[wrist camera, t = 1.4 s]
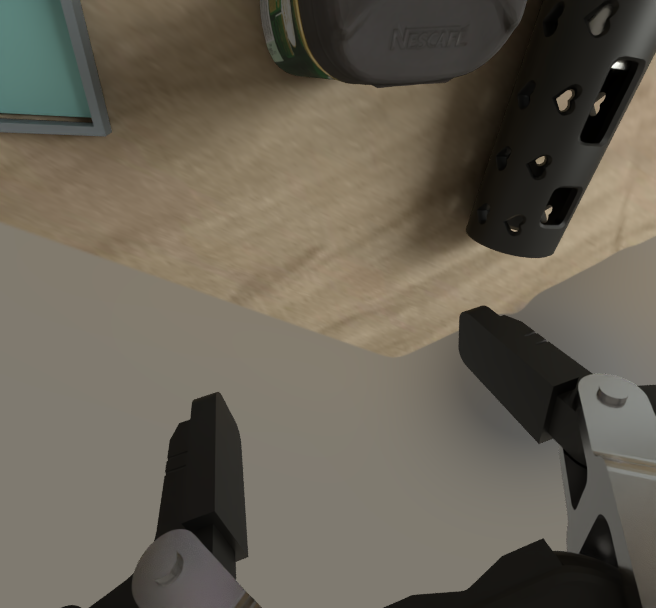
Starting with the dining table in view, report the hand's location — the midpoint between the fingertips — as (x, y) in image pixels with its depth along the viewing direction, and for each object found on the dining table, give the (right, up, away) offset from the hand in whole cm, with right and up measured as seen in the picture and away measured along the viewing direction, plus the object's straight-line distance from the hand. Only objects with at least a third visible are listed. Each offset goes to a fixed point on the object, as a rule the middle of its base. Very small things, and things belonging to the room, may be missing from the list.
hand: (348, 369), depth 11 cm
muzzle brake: (+19, +24, +23) cm, 38 cm away
